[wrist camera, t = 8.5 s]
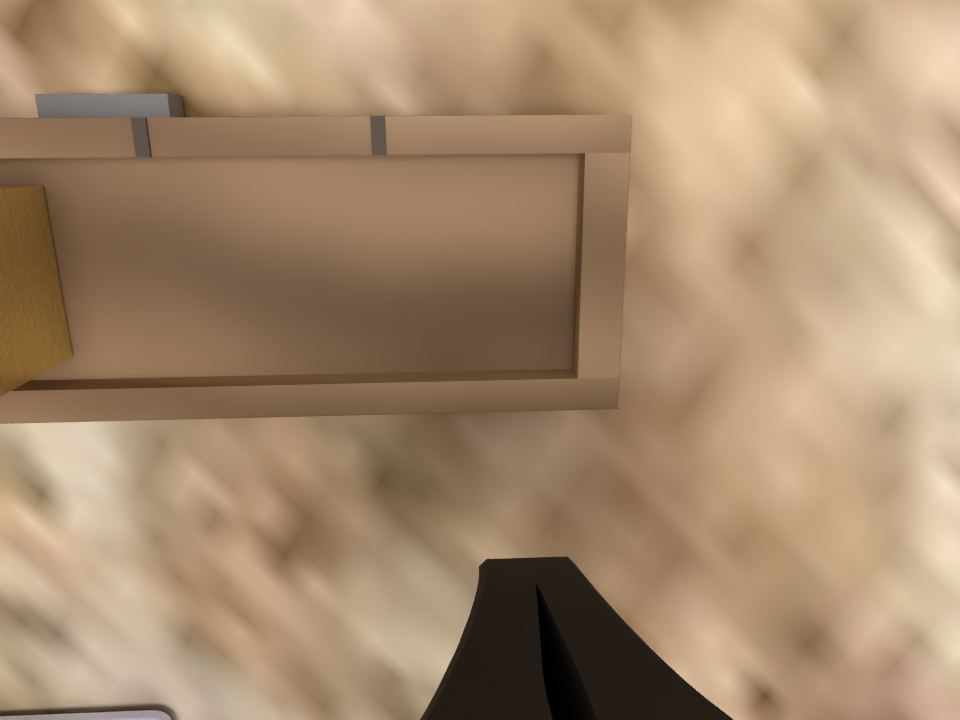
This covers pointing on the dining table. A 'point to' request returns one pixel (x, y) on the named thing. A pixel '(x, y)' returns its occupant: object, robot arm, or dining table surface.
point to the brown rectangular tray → (324, 261)
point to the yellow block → (28, 290)
